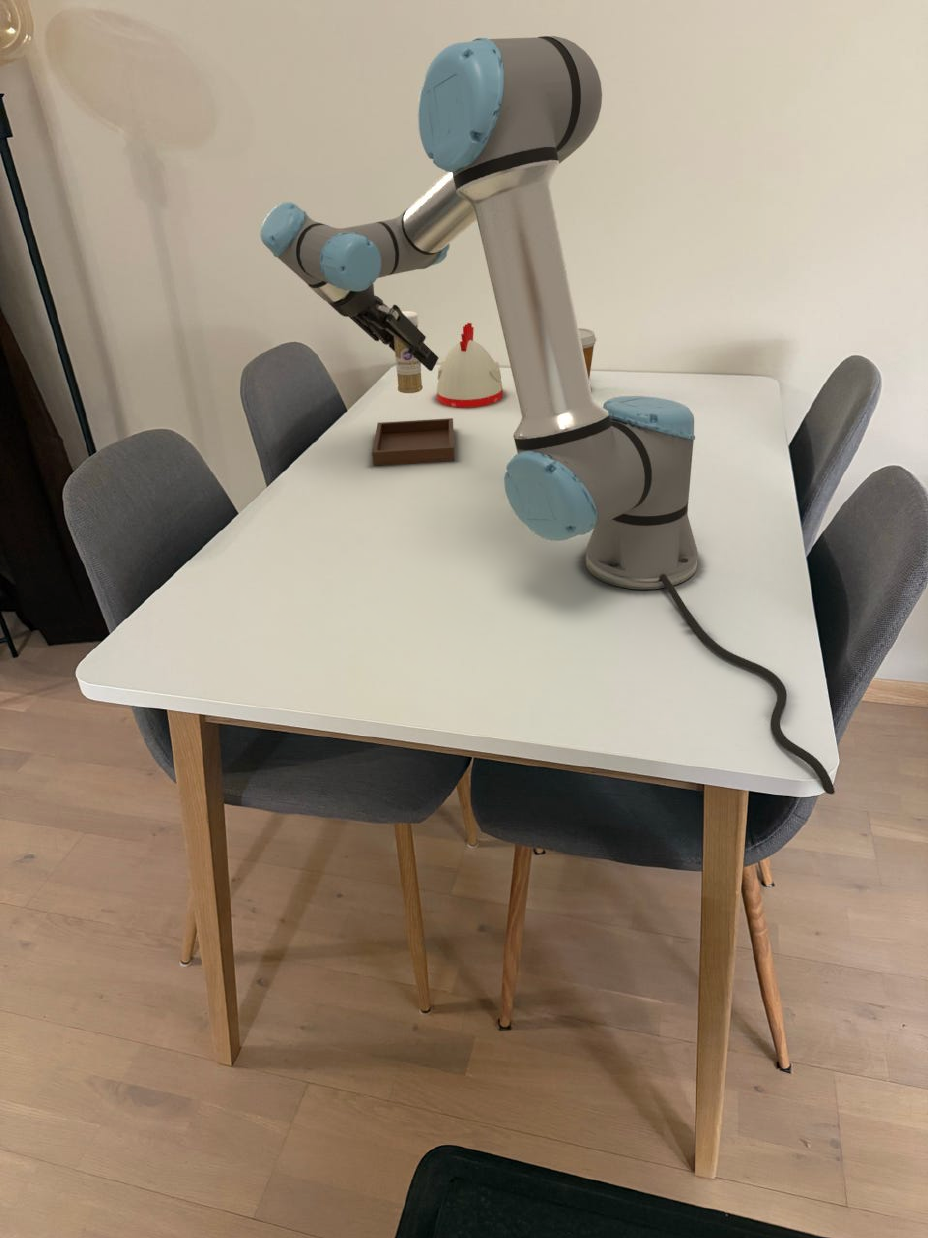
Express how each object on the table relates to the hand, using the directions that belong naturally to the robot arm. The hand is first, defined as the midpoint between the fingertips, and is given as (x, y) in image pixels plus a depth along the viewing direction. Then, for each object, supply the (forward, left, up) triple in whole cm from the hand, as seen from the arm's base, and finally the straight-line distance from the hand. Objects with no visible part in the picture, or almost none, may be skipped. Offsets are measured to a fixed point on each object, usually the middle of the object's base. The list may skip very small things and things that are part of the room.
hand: (424, 361), depth 162 cm
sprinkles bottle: (-3, +3, -4) cm, 6 cm away
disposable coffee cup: (+27, -30, -16) cm, 43 cm away
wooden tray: (-1, +3, -16) cm, 16 cm away
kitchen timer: (+27, -8, -16) cm, 32 cm away
